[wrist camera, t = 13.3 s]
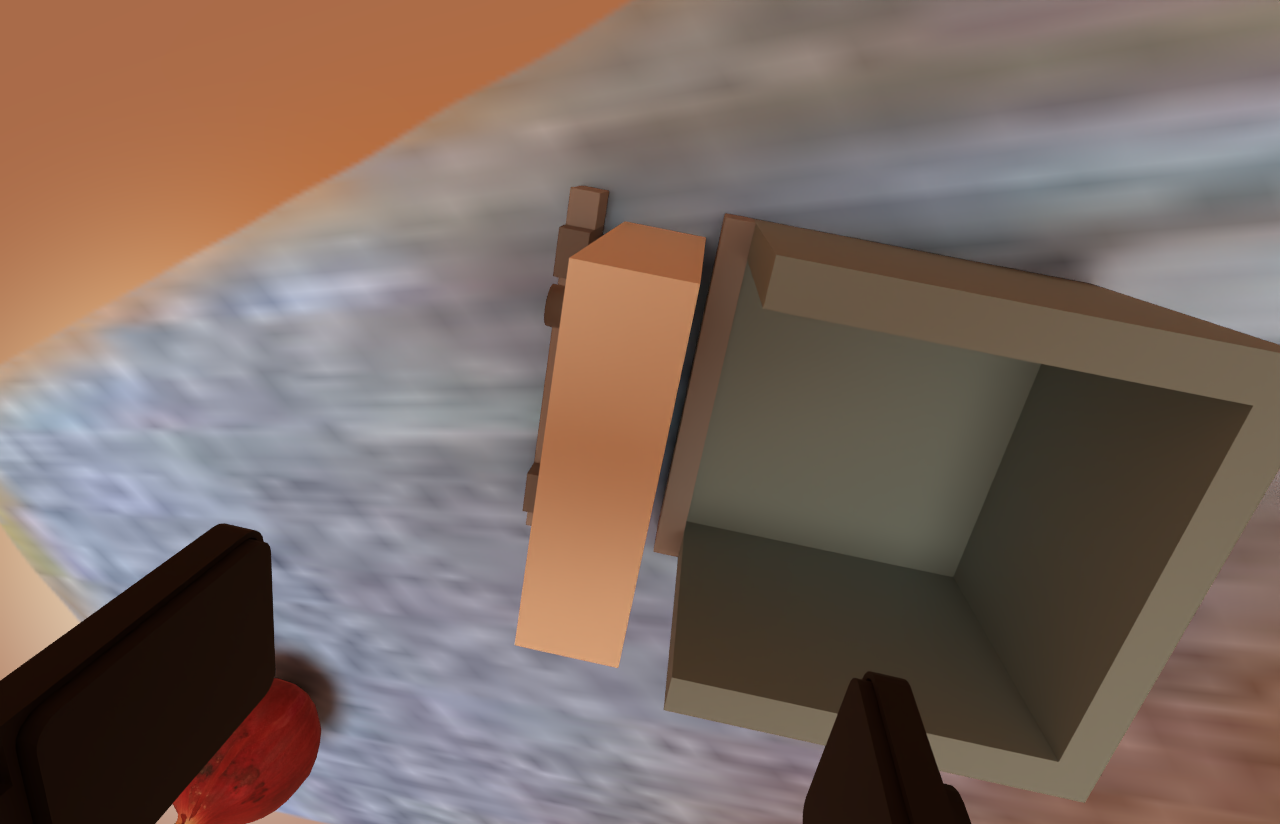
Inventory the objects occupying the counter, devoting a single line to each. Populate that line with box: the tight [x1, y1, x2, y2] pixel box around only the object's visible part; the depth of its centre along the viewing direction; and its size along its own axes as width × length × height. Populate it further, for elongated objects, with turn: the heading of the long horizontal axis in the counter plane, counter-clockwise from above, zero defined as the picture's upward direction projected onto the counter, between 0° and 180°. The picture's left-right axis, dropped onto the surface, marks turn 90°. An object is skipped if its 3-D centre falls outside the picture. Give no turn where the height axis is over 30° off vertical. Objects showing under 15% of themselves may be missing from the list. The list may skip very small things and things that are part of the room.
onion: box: [173, 678, 321, 824], centre depth 30 cm, size 6×6×8 cm
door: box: [515, 221, 706, 668], centre depth 22 cm, size 4×11×10 cm, turn 170°
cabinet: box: [523, 186, 1280, 803], centre depth 21 cm, size 18×13×10 cm
